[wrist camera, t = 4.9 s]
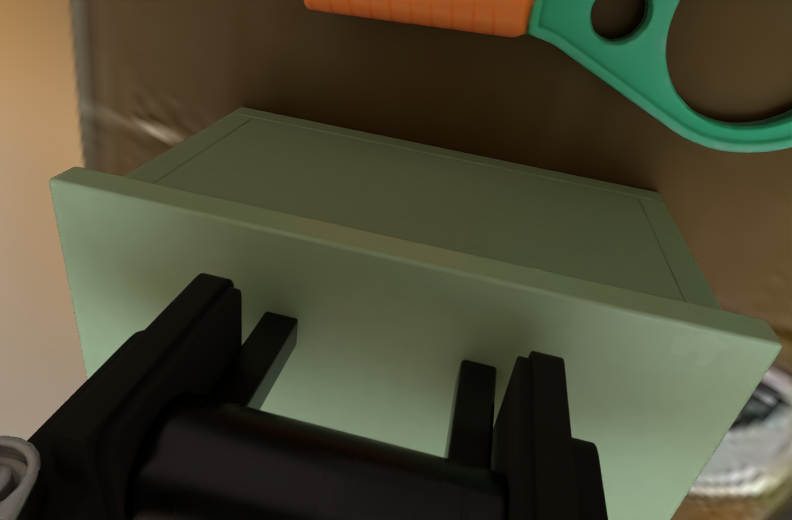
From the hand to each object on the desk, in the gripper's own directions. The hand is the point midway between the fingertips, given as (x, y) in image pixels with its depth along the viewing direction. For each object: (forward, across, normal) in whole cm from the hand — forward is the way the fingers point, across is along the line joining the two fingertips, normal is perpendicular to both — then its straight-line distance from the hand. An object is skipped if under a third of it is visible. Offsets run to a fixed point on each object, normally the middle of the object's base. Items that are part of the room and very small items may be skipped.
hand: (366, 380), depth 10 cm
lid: (+2, 0, +5) cm, 6 cm away
